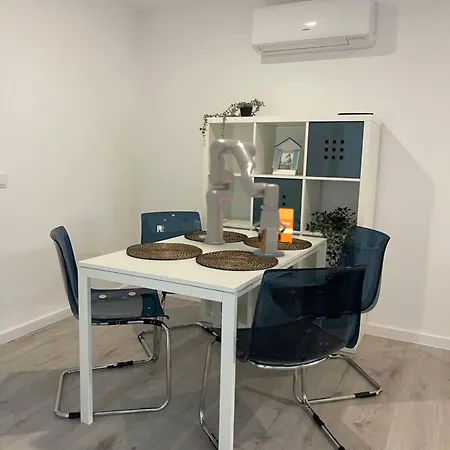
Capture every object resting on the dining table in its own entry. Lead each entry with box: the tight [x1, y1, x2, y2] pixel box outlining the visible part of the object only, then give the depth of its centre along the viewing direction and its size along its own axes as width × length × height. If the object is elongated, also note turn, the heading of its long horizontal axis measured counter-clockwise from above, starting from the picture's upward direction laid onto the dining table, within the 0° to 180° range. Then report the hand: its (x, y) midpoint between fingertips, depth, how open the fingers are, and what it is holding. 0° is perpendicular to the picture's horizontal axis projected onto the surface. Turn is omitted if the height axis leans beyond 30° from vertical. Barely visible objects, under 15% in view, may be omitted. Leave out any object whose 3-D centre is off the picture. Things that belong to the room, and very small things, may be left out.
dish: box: [252, 248, 285, 258], centre depth 245 cm, size 16×16×1 cm
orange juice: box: [277, 207, 294, 244], centre depth 284 cm, size 8×9×20 cm
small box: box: [259, 228, 278, 253], centre depth 244 cm, size 8×6×13 cm
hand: (269, 241), depth 244 cm, fingers open, 9 cm apart
